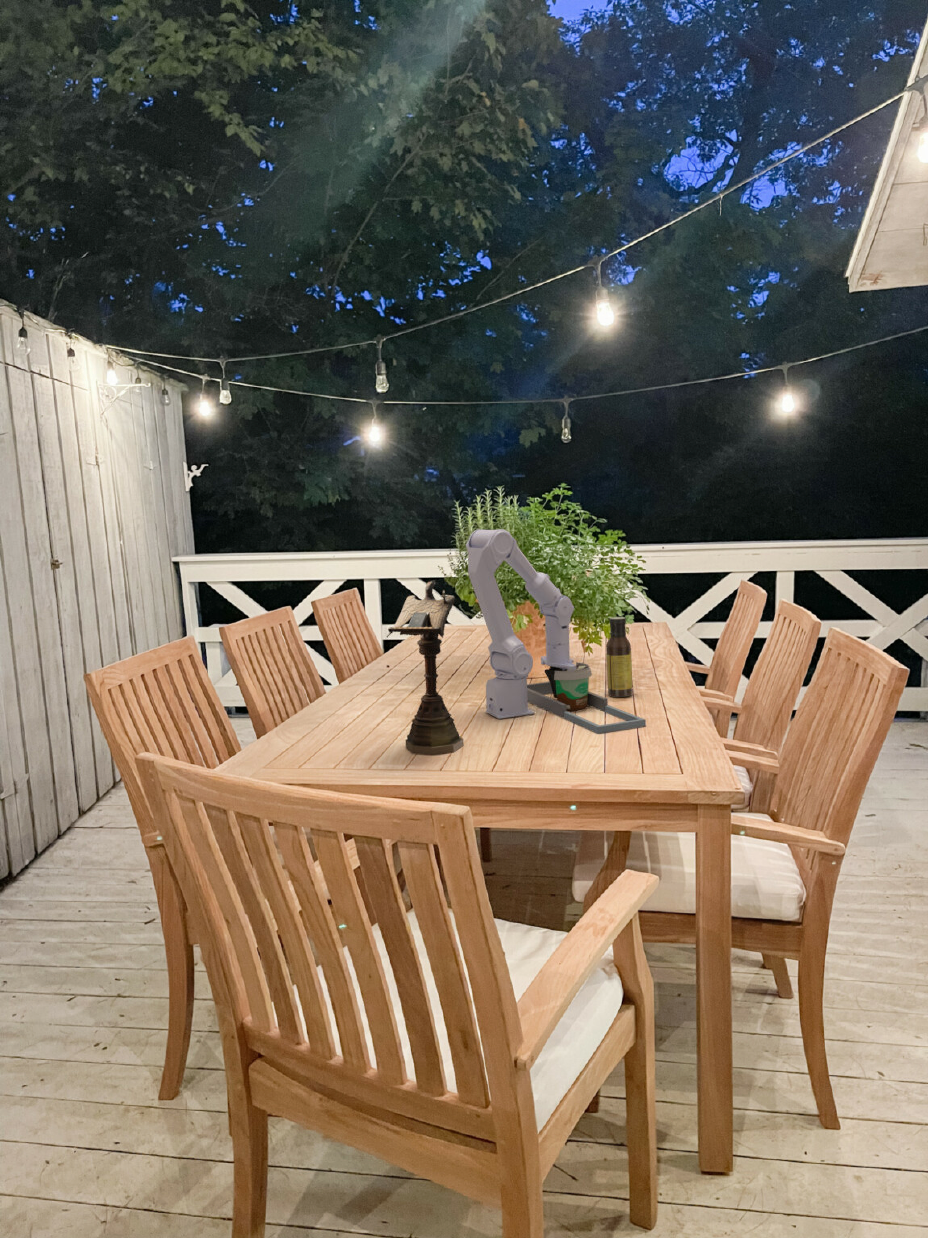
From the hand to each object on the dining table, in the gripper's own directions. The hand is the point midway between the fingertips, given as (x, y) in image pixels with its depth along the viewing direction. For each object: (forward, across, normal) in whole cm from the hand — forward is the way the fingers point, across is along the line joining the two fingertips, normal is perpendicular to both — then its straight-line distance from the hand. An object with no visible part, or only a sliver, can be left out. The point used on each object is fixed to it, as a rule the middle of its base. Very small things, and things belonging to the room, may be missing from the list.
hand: (558, 697), depth 205 cm
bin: (+1, -1, 0) cm, 2 cm away
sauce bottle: (+2, -1, -17) cm, 17 cm away
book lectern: (+2, -22, +41) cm, 46 cm away
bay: (+1, -20, 0) cm, 20 cm away
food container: (+2, -7, -2) cm, 7 cm away
